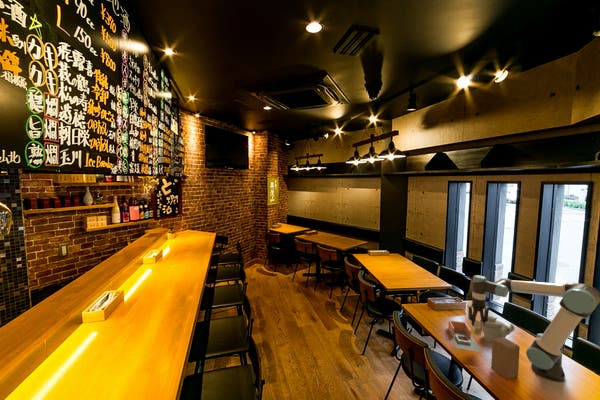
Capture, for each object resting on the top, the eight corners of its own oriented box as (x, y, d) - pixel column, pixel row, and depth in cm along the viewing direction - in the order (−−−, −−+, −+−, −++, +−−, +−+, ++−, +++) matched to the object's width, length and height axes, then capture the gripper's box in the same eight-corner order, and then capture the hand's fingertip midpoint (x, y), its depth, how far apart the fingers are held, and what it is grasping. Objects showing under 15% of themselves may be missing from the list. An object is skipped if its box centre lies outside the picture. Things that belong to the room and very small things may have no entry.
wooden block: (506, 380, 153) (508, 348, 152) (490, 368, 162) (491, 338, 161) (518, 377, 156) (520, 345, 154) (502, 365, 165) (503, 336, 164)
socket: (470, 344, 185) (470, 342, 185) (458, 343, 187) (458, 340, 187) (466, 338, 193) (467, 336, 193) (454, 336, 195) (455, 334, 195)
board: (482, 353, 177) (482, 352, 177) (456, 349, 182) (456, 348, 182) (468, 332, 203) (468, 330, 203) (446, 328, 207) (446, 327, 207)
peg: (481, 335, 177) (482, 322, 177) (475, 335, 178) (475, 321, 178) (479, 332, 181) (480, 319, 180) (473, 331, 182) (473, 318, 182)
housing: (470, 339, 191) (470, 330, 190) (452, 337, 194) (452, 328, 194) (465, 330, 202) (465, 322, 202) (448, 328, 206) (448, 320, 205)
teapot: (514, 344, 187) (515, 320, 185) (503, 350, 180) (504, 325, 179) (489, 333, 201) (490, 310, 200) (478, 338, 195) (479, 314, 194)
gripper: (488, 296, 181) (487, 327, 182) (462, 295, 183) (462, 326, 184) (495, 300, 173) (494, 334, 175) (468, 299, 175) (467, 332, 177)
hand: (477, 330), depth 179 cm, fingers closed on peg, 4 cm apart
